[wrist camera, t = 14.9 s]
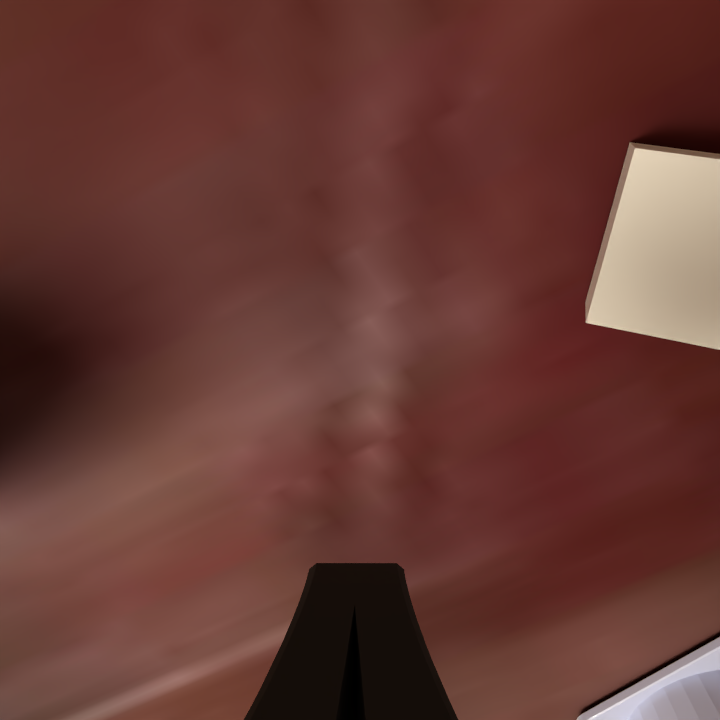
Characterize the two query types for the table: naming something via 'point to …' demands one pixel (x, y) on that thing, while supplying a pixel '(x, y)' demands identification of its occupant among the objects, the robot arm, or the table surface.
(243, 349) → the table surface
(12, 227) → the table surface
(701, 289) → the domino
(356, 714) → the robot arm
